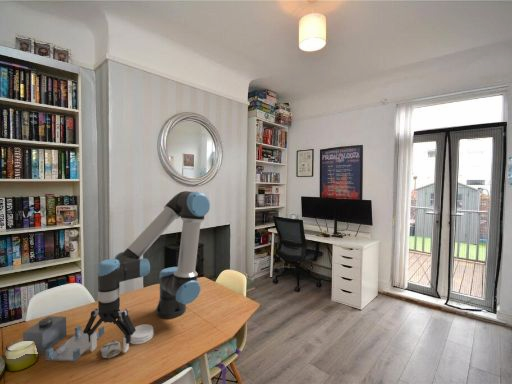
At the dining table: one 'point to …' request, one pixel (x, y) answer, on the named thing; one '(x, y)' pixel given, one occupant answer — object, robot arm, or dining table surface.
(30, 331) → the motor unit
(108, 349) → the stone
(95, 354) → the dining table surface
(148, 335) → the coaster
